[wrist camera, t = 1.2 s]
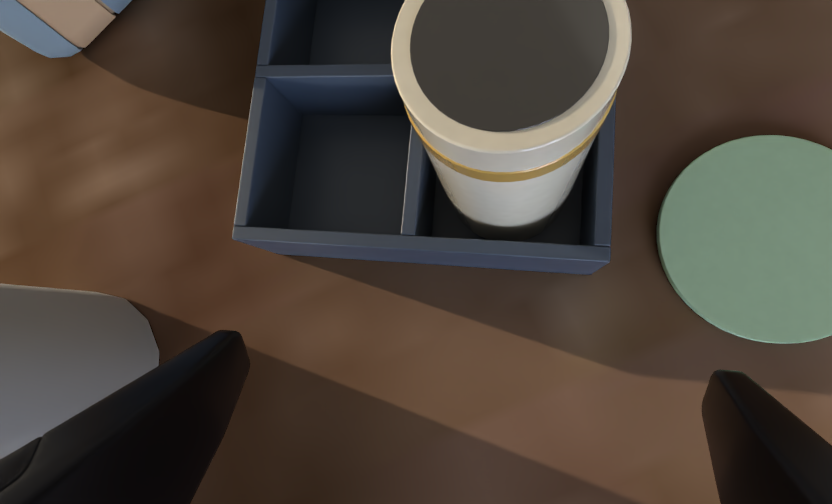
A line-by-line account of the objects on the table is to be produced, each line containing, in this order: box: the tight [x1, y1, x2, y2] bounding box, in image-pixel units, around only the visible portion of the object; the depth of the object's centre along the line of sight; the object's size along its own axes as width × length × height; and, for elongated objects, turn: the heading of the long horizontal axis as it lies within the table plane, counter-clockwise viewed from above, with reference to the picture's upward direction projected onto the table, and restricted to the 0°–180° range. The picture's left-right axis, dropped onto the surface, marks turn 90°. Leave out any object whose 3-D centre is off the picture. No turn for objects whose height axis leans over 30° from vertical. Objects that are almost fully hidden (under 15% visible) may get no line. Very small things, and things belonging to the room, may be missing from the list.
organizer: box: [232, 0, 616, 275], centre depth 23 cm, size 15×15×4 cm
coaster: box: [657, 135, 832, 344], centre depth 21 cm, size 9×9×1 cm
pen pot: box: [391, 0, 632, 242], centre depth 17 cm, size 6×6×12 cm
